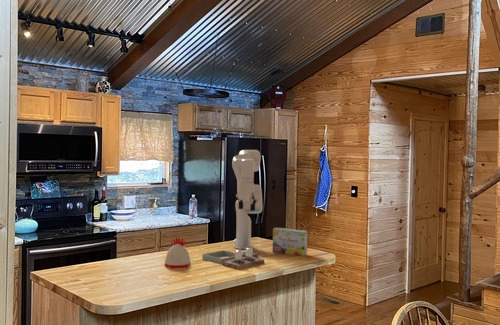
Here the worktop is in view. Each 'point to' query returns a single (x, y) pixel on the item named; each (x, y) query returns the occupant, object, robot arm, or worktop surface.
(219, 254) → the tote
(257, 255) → the button console
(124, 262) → the worktop surface
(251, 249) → the billet
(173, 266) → the kitchen timer
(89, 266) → the worktop surface
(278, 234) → the snack box
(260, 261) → the board
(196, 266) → the worktop surface
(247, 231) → the robot arm
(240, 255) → the cylinder
